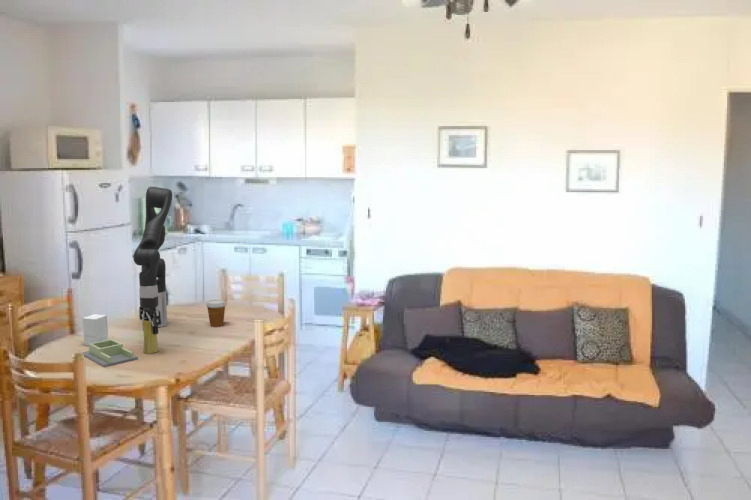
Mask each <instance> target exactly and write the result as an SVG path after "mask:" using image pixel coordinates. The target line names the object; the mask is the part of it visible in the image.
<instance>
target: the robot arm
mask: <svg viewBox="0 0 751 500" xmlns="http://www.w3.org/2000/svg"><path fill="white" fill-rule="evenodd" d="M172 201H173V191H172V190H171V189H169V188H164V187H159V186H148V188H147V189H146V193H145V223H144V230H143V235H142V237H141V238H142V239H141V241H140V242H139V244H138V245H137V247H136V249H135V250H134V253H133V257H132V259H133V261H134V264H135V265H137V266H141V268H140V269H141V272H139V274H138V276H139V278H138V279H139V281H138V283H139V290H138V291H139V293H138V295H139V309H138V310H139V311H138V312H139V314H138V315H139V320H140V321H141V322H142V323H143V319H145V318H148V319H149V321H150V322H151V323H152V325H153V326H152V329H153V334H154V335H155V334H157V335H158V334H159V328H163V327H166V326H168V313H167V311H168V309H167V307H168V306H167V290H166V287H167V285H166V274H167V273H166V271H167V270H166V268H167V267H166V262H165V260H164V258H163V257H161V254H160V252H159V249H160V248H161V247H162V246H163V245H164V243H165V240H166V226H165V225H164V224H165V223H166V220H167V217H168V214H169V212H170V209H171V205H172ZM156 208H157V209H161V210H160V211H159V213H157V212H156V210H155V209H156Z"/></svg>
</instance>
